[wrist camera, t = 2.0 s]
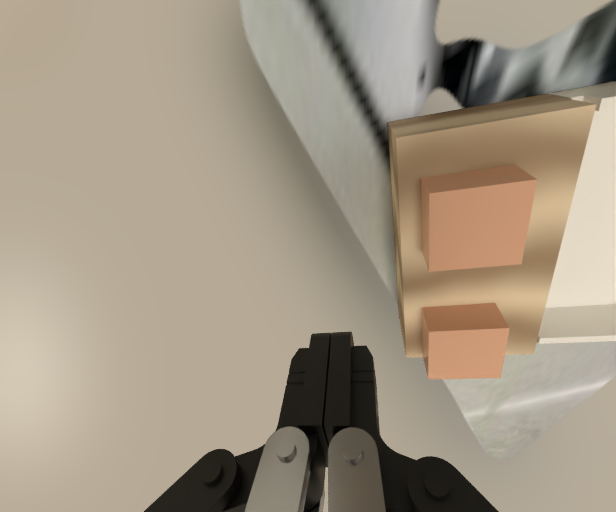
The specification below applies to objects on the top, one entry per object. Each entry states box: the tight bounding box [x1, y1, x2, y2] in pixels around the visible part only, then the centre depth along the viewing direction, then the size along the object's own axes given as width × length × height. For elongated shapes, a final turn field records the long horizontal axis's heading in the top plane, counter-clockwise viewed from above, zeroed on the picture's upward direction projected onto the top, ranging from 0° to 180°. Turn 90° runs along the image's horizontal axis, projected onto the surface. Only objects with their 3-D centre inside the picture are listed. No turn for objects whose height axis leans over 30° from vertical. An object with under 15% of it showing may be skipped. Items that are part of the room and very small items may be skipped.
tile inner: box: [421, 165, 537, 272], centre depth 18 cm, size 5×5×2 cm
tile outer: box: [422, 303, 510, 379], centre depth 23 cm, size 5×5×2 cm
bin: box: [537, 81, 616, 344], centre depth 22 cm, size 18×8×4 cm, turn 11°
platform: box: [388, 94, 596, 358], centre depth 23 cm, size 18×10×5 cm, turn 11°
